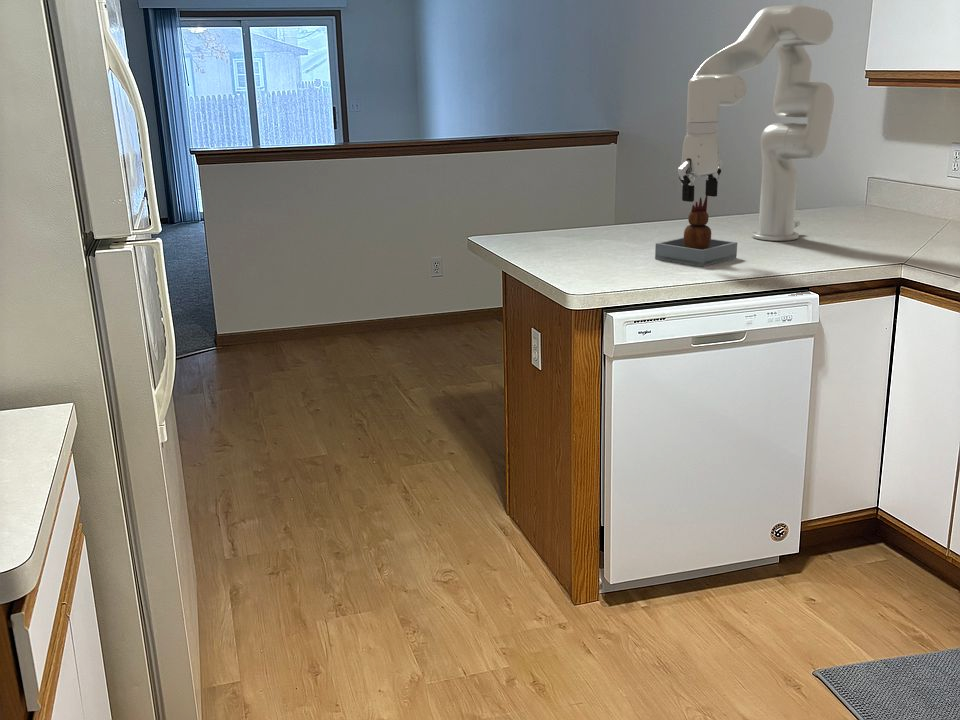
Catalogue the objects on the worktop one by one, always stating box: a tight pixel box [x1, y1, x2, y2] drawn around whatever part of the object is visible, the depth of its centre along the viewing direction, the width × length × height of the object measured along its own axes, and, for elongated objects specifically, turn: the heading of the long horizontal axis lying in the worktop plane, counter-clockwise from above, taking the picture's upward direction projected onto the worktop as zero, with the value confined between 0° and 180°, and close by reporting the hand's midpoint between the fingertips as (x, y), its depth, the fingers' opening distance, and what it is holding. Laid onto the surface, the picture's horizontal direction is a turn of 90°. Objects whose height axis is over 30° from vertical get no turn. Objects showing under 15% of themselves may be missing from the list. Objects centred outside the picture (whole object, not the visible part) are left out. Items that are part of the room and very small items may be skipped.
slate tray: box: [654, 236, 738, 267], centre depth 236 cm, size 15×15×4 cm
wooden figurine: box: [683, 195, 712, 250], centre depth 234 cm, size 7×6×15 cm
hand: (699, 198), depth 232 cm, fingers open, 9 cm apart
